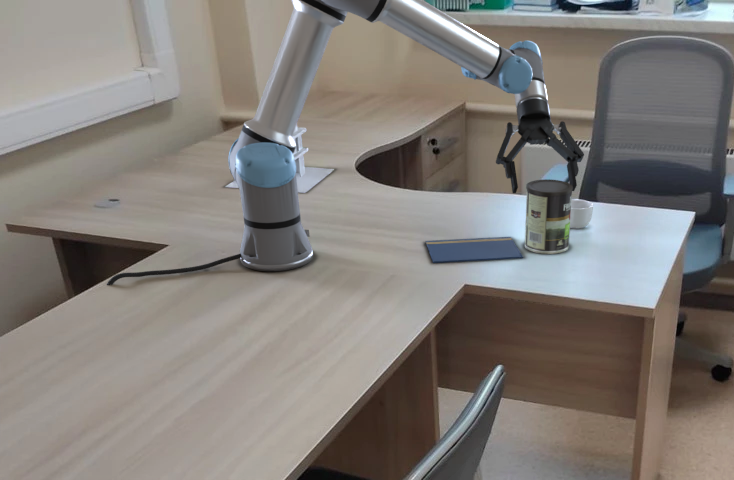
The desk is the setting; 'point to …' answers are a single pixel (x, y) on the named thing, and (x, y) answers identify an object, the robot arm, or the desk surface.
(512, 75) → the robot arm
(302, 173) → the architectural model
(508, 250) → the blue flat rectangular block
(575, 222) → the teacup
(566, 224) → the coffee can
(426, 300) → the desk surface
